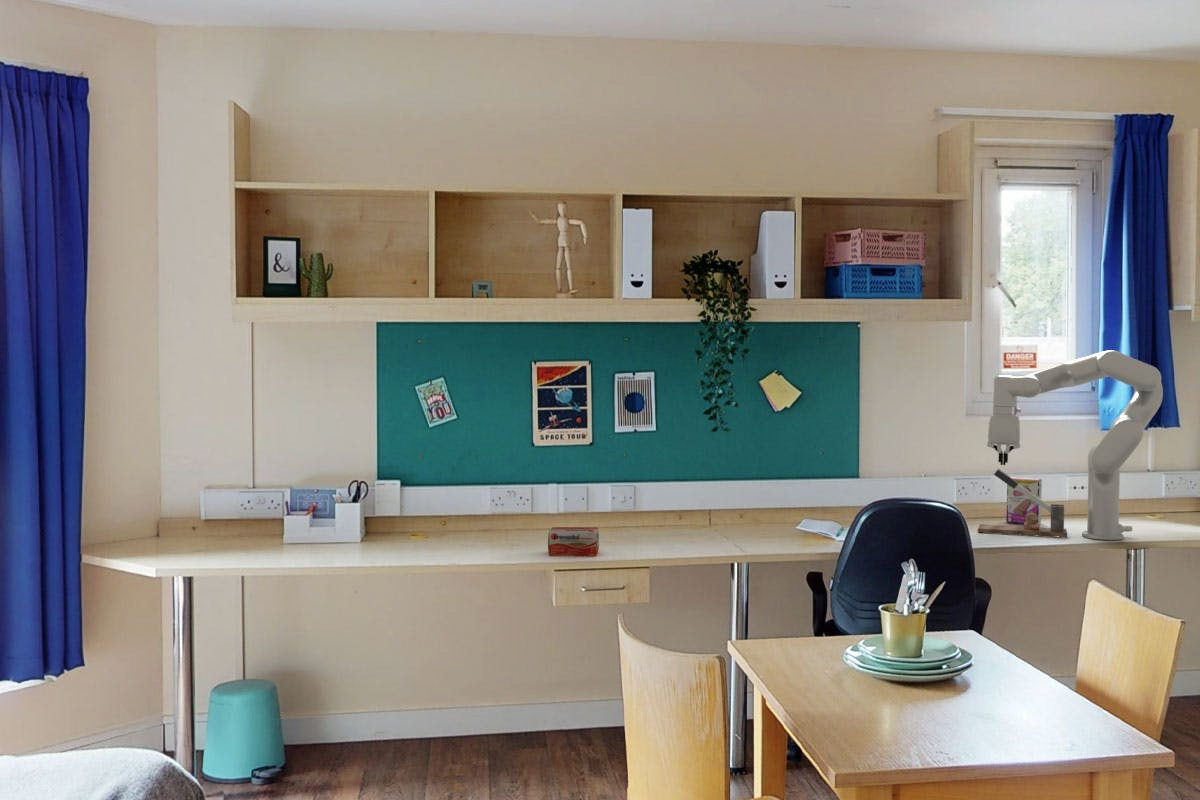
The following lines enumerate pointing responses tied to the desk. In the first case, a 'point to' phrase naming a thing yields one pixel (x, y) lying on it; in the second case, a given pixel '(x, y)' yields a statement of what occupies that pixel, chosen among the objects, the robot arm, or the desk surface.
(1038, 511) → the candy bar box
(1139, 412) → the robot arm
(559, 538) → the medicine box
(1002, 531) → the press base
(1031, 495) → the lever
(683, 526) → the desk surface
